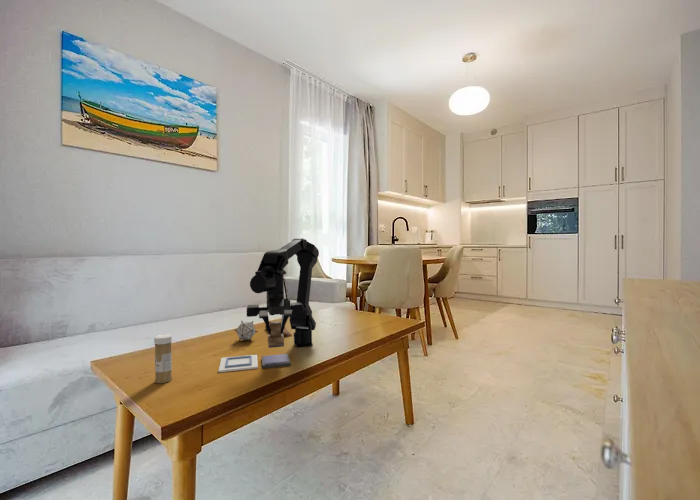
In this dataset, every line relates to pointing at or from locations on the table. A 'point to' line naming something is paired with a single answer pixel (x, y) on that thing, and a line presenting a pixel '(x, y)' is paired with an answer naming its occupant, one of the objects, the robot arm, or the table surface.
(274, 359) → the ink pad
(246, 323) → the game die
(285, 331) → the sunglasses case
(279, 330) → the stamp
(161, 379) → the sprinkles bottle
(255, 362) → the print card
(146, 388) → the table surface
